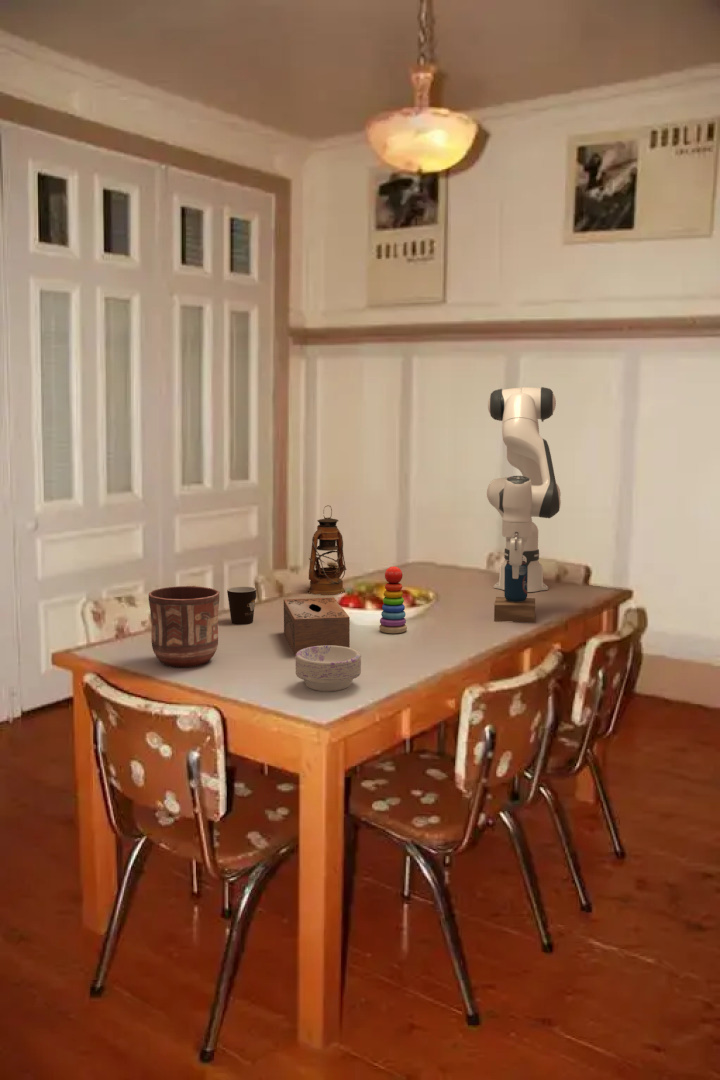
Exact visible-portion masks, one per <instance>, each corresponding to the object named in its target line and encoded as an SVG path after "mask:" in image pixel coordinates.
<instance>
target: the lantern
mask: <svg viewBox="0 0 720 1080" xmlns="http://www.w3.org/2000/svg"><path fill="white" fill-rule="evenodd" d="M326 507H329V508H330V510H331V512H330V517H325V516H323V517H324V518H321V519H317V520H316V521H317V523H318V525H317V527H316V531H315V532H314V533H313V535H312V539H311V551H310V558H308V559H309V569H308V580H309V588H308V590H307V592H308V591H309V592H310V593H309V594H311V593H313V594H312V595H316V594H321V595H320V596H333V595H339V594H338V593H341V592H344V591H345V592H346V590H345V588H344V586H343V585H344V581H343V578H344V577H345V575H346V571H347V568H346V561H345V556H344V539H343V538H344V537H343V535H342V533H341V531H340V530H339V528H338V526H337V523H338V522H339V519H336V518H332V514H333V509H332V507H331V505H325V506H324V507H323V509H325V508H326ZM323 513H325V510H323ZM318 541H319V542H318ZM318 543H319V544H318ZM319 551H323V553H322V554H320V553H319ZM326 551H327V552H326ZM332 553H336V555H337V557H336V558H337V559H334V558H331V557H329V556H327V555H329V554H332ZM322 557H324V558H327V559H329V560H332V561H334V563H337V564H338V565H335V564H334V565H333V564H327V563H325V562H324V561H323V560H322V559H321V558H322ZM323 563H324V564H326V565H327V566H328V567H327V566H326V567H325V566H323ZM340 577H341V578H340ZM345 592H344V593H345ZM341 594H342V593H341Z"/></svg>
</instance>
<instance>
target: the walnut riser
mask: <svg viewBox="0 0 720 1080" xmlns="http://www.w3.org/2000/svg"><path fill="white" fill-rule="evenodd" d="M493 611H494V613H493V614H494V615H493V620H494V621H493V622H502V621H513V622H512V623H526V622H532V623H533V624H535V622H536V621H535V618H536V616H535V615H536V598H532V597H527V598H526V600H525V601H524V602H518V603H515V602H508V601H507V600H506V598H505V596H495V601H494V609H493ZM532 623H531V624H532Z"/></svg>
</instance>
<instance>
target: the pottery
mask: <svg viewBox="0 0 720 1080" xmlns="http://www.w3.org/2000/svg"><path fill="white" fill-rule="evenodd" d="M148 605H149V610H150V612H149V613H150V621H151V627H150V628H151V630H150V631H151V633H150V634H151V642H150V643H151V648H152V651H153V654H154V655H155V657H156V659H158V660H159V661H160V662H161V664H162V665H164V666H166V665H167V667H169V666H171V667H170V668H193V667H200V666H203V665H205V664H207V663H208V662H209V661H210V660H211V659H212V658H213V657H214V655H215V654H216V652H217V650H218V647H219V609H220V608H219V606H220V591H219V590H218V589H217V590H216V589H214V588H211V587H204V586H195V585H194V586H191V585H190V586H189V585H187V586H185V585H184V586H183V585H179V586H167V587H162V588H157V589H154V590H152V591H150V592H149V593H148Z"/></svg>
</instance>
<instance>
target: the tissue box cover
mask: <svg viewBox="0 0 720 1080" xmlns="http://www.w3.org/2000/svg"><path fill="white" fill-rule="evenodd" d="M350 618H351V617H350V616H349V615H348V613H347V612H346V611H345V610H344V608H343V607H342V606H341V605H340V604H339V602H338V601H337V600H336V598H335V597H315V598H314V597H311V598H310V597H309V598H290V599H289V598H288V599H286V598H285V599H283V634H284V636H285V637H286V640H287V642H288V645H289V646H290V649H291V651H292V653H293V655H294V657H296V653H297V652H298V651H300V650H301V649H304V648H308V647H313V646H324V645H332V646H343V647H348V648H351V647H350V645H351V644H350V638H351V637H350V631H351V630H350V620H351V619H350Z"/></svg>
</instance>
